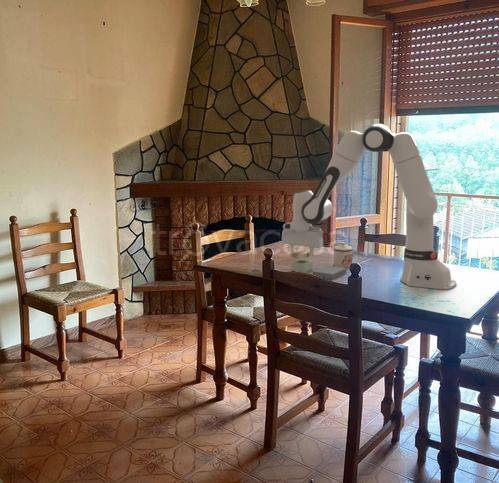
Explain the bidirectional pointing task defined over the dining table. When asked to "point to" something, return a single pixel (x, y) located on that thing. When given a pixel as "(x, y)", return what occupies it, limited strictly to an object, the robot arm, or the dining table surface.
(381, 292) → the dining table surface
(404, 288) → the dining table surface
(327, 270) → the trivet
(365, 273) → the dining table surface
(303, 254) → the lid board
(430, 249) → the robot arm
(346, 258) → the teacup with lid
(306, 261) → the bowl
